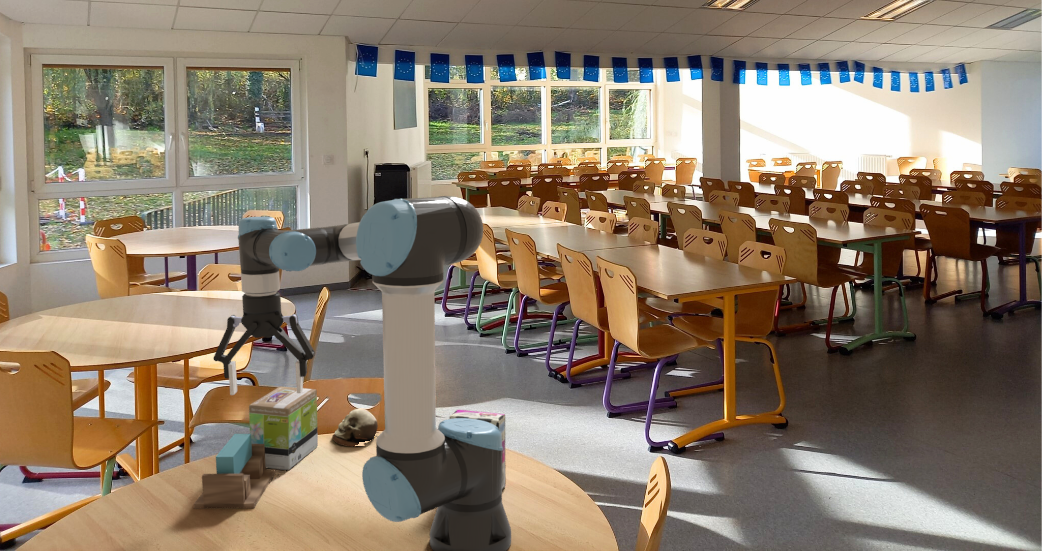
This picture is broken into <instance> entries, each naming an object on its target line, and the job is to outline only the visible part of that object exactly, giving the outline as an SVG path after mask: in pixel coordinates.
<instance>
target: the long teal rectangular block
mask: <svg viewBox="0 0 1042 551" xmlns="http://www.w3.org/2000/svg"><path fill="white" fill-rule="evenodd" d="M251 456H252V443H251V434H250V433H234V434H233V435H232V436H231V438H230V439H229V440H228V441H227V442H226V443H225V445H224V446H223V447H222V449H221V450H219V452H218V453H217V454H216V456H215V465H216V466H215V467H216V468H215V469H216V474H239V473H240V472H241V470H242V469H243V467H244V466H245V465H246V463H247V462H248V461H249V459H250V458H251Z"/></svg>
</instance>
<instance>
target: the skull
mask: <svg viewBox="0 0 1042 551" xmlns="http://www.w3.org/2000/svg"><path fill="white" fill-rule="evenodd" d="M337 426H338V428H337V429H336V430H335V432H334V433H333V435H332V437H331V438H332V440H333V441H334V443H336V444H338V445H340V446H342V447H343V446H344V447H351V448H352V447H353V446H354V447H353V448H357V447H356V446H355V445H358V444H359V442H365V441H370V440H372V439H373V440H374V436H375V434H376V433H380V432H379V431H378V420H377V419H376V417H375V416H374V415H373V414H372V413H371V412H370V411H369V410H367V409H365V408H355V409H352V410H351V411H349V414H346V415H345V417H344V419H342V422H339V424H338V425H337ZM373 440H372V441H373Z"/></svg>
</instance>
